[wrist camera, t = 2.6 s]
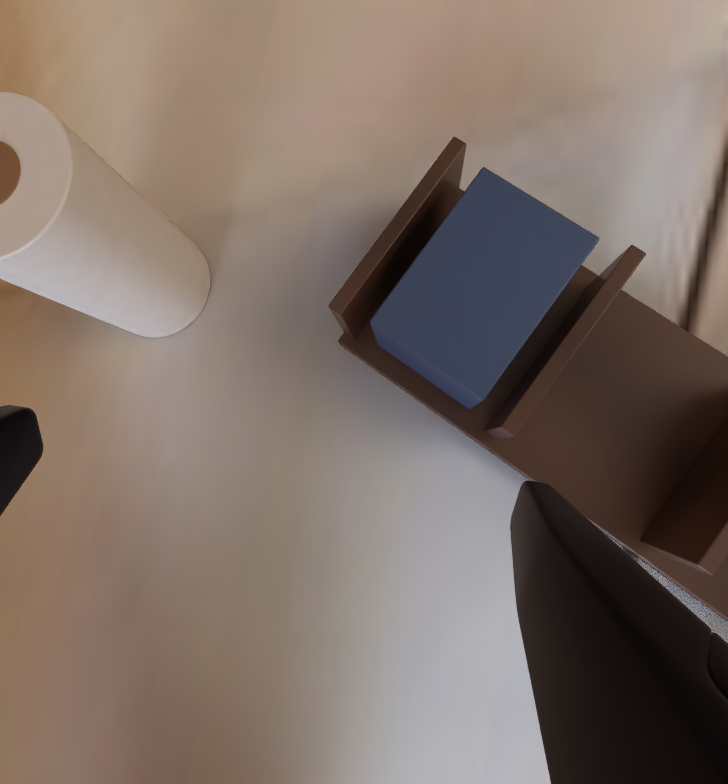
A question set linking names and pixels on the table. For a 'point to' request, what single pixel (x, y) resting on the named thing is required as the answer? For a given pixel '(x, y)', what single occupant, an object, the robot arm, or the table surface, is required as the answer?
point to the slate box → (480, 287)
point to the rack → (583, 400)
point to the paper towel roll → (89, 230)
